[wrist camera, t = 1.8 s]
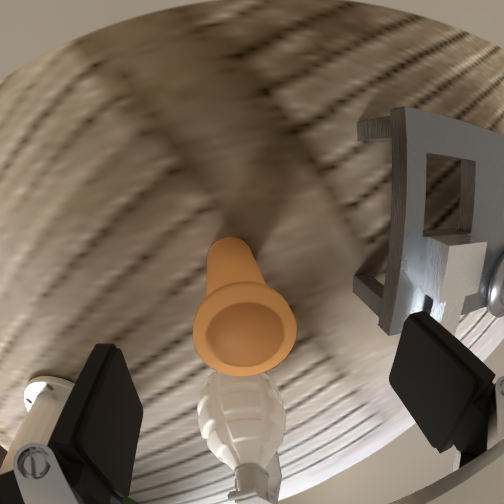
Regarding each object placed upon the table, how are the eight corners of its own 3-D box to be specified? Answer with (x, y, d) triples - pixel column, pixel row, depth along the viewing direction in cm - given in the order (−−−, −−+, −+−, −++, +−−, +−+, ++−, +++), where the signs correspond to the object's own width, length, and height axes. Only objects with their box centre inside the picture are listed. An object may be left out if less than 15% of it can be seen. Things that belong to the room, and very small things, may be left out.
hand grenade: (289, 386, 25) (331, 503, 13) (230, 412, 25) (246, 529, 13) (250, 330, 23) (286, 470, 10) (183, 362, 23) (175, 499, 11)
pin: (259, 283, 22) (295, 369, 12) (203, 288, 21) (200, 379, 12) (258, 227, 20) (298, 284, 11) (197, 232, 20) (185, 294, 10)
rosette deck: (467, 304, 26) (543, 360, 14) (344, 335, 24) (421, 442, 12) (485, 143, 21) (586, 156, 8) (353, 118, 19) (494, 92, 7)
